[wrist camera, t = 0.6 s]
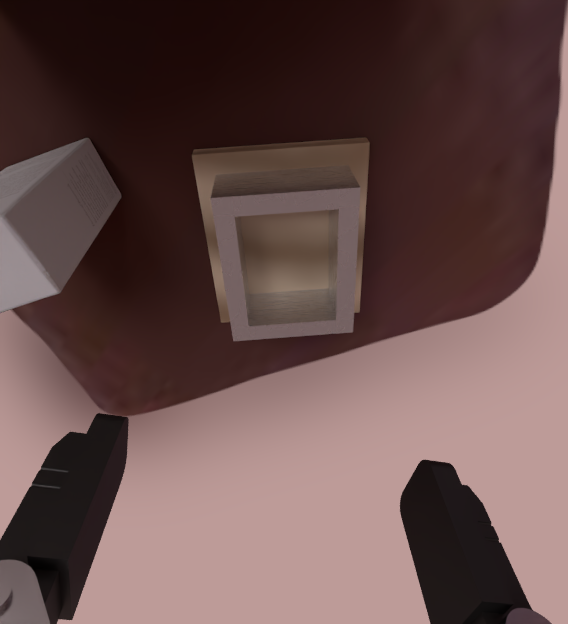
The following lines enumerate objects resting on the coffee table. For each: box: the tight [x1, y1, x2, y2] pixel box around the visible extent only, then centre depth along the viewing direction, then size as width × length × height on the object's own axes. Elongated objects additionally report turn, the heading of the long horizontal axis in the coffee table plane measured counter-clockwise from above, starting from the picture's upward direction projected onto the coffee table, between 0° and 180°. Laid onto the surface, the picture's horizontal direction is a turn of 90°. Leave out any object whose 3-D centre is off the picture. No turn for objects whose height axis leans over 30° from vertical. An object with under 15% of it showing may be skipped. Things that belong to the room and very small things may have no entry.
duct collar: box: [210, 165, 360, 341], centre depth 29 cm, size 10×8×4 cm
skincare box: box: [0, 138, 121, 313], centre depth 23 cm, size 6×4×12 cm
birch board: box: [192, 137, 370, 323], centre depth 31 cm, size 13×11×1 cm
